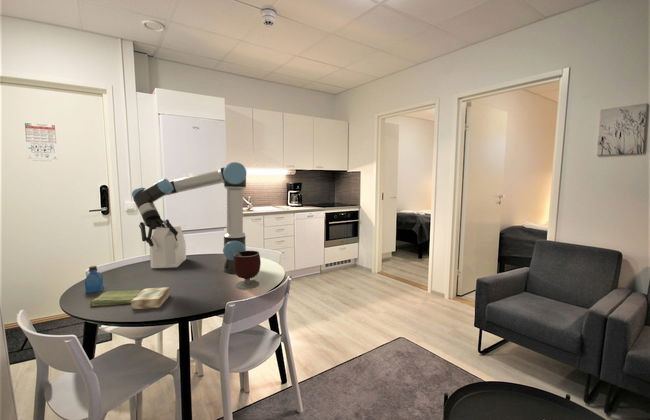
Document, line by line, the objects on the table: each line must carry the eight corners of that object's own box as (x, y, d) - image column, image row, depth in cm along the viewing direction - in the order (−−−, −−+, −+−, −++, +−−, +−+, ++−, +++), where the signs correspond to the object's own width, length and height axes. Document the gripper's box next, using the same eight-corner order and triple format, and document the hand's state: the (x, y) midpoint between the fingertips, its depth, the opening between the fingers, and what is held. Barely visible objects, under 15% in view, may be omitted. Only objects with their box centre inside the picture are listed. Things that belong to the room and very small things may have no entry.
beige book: (169, 295, 147) (169, 287, 147) (159, 307, 134) (158, 298, 133) (145, 296, 145) (144, 288, 145) (132, 309, 132) (131, 300, 131)
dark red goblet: (252, 278, 171) (251, 243, 169) (266, 285, 161) (265, 248, 159) (226, 285, 160) (224, 248, 158) (239, 293, 150) (238, 253, 148)
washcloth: (132, 305, 137) (132, 298, 137) (88, 308, 134) (87, 301, 134) (144, 294, 150) (143, 287, 150) (104, 296, 147) (103, 290, 146)
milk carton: (165, 268, 147) (163, 229, 144) (153, 267, 148) (150, 228, 146) (175, 263, 154) (174, 226, 151) (163, 262, 155) (161, 226, 153)
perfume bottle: (85, 293, 150) (83, 269, 149) (88, 289, 155) (86, 266, 154) (101, 291, 153) (99, 267, 151) (103, 287, 158) (101, 264, 157)
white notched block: (177, 267, 193) (174, 228, 190) (151, 268, 190) (148, 228, 188) (186, 259, 212) (184, 223, 209) (162, 260, 209) (160, 224, 207)
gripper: (168, 216, 166) (185, 249, 159) (123, 220, 148) (140, 258, 141) (173, 207, 162) (191, 240, 155) (127, 211, 145) (145, 248, 137)
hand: (167, 249), depth 148 cm, fingers closed on milk carton, 9 cm apart
